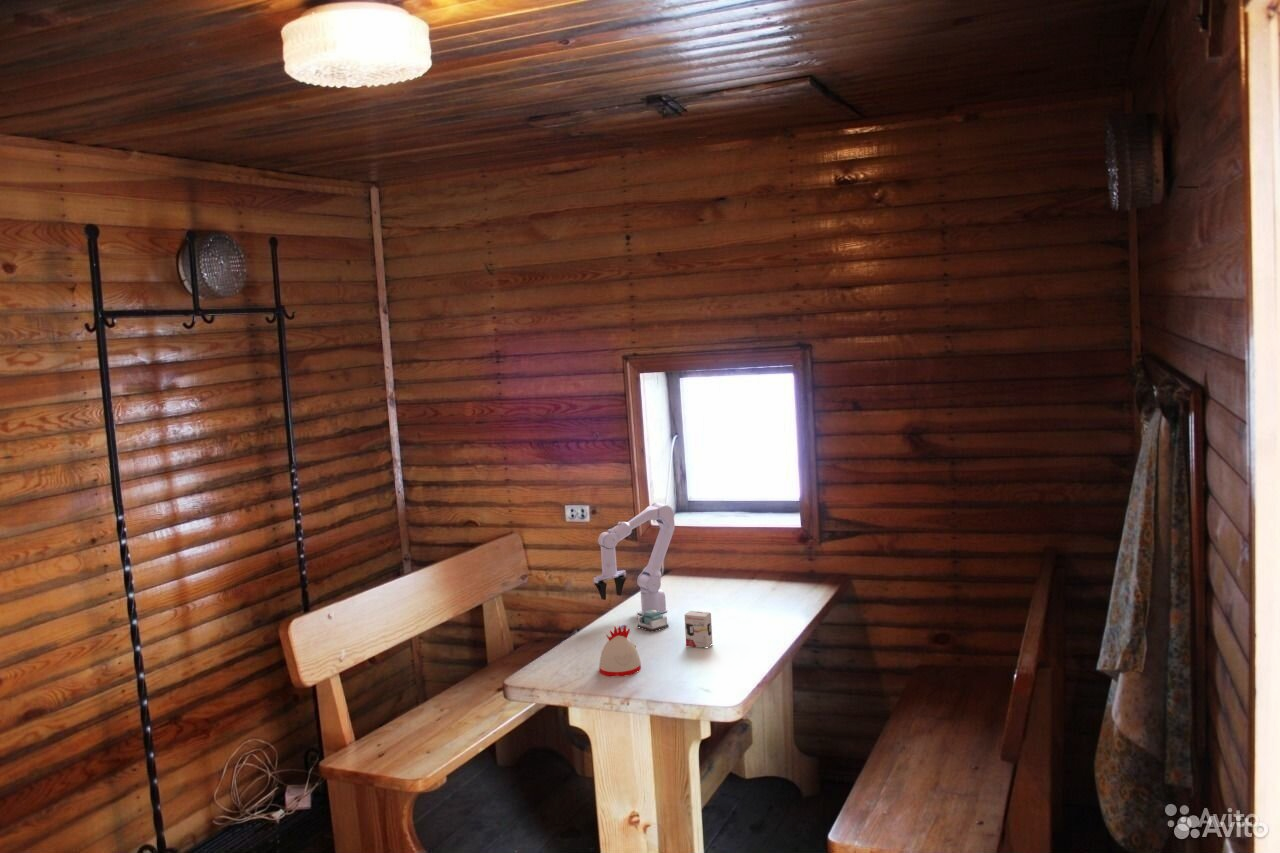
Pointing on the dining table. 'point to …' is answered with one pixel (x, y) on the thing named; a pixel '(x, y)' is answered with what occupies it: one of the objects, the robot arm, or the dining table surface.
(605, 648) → the chicken hat
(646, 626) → the plate
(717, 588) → the dining table surface
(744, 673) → the dining table surface
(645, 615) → the block
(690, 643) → the ink box
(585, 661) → the dining table surface
